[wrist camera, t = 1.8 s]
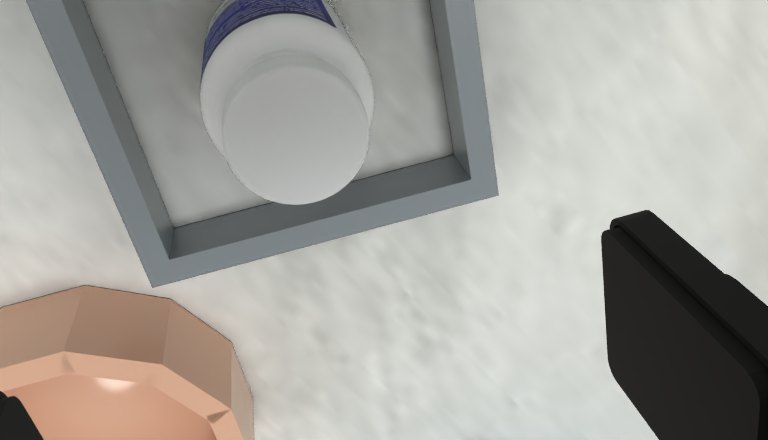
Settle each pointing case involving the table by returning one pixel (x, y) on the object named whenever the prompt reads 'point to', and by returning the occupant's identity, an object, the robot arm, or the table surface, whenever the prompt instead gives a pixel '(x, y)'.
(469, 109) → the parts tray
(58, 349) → the bowl
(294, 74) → the pill bottle
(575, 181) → the table surface
